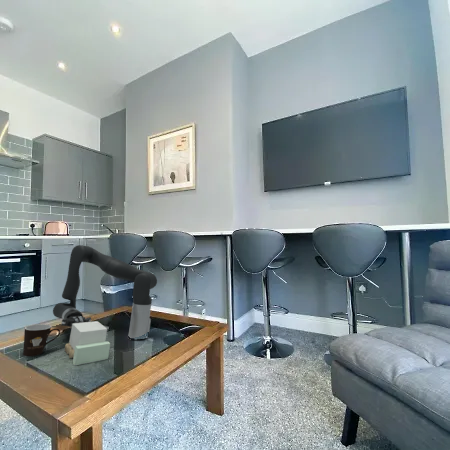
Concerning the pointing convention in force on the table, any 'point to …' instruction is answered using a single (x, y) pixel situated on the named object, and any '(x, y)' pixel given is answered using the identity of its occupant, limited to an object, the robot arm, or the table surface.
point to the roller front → (71, 353)
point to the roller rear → (66, 346)
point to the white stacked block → (87, 333)
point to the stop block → (91, 353)
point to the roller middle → (68, 349)
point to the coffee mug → (36, 339)
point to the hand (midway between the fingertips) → (81, 326)
